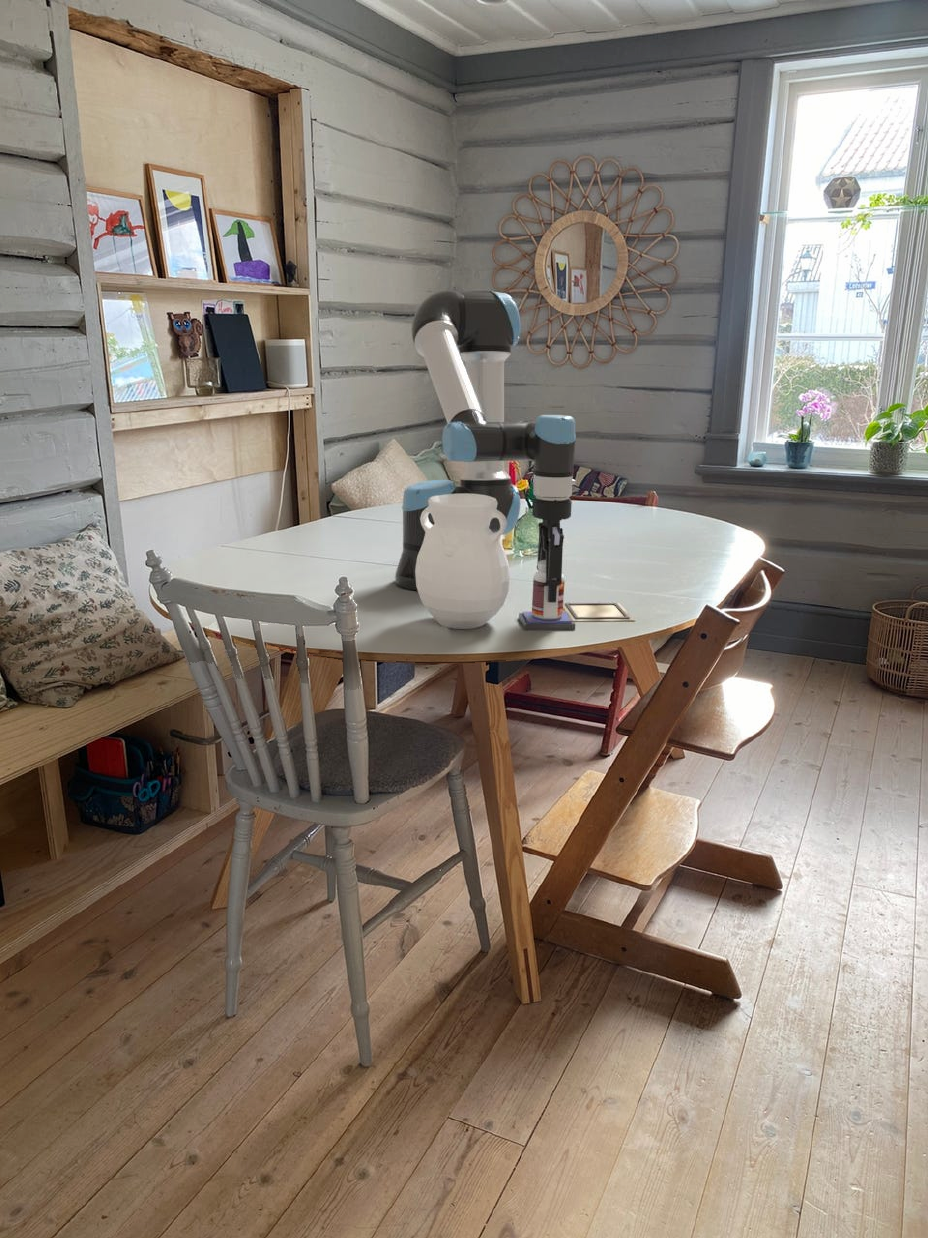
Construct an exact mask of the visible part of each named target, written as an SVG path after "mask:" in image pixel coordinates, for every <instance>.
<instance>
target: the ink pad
mask: <svg viewBox="0 0 928 1238" xmlns="http://www.w3.org/2000/svg"><path fill="white" fill-rule="evenodd" d="M518 619H519V621H520V623H521V626H522V627H523V630H525V631H530V630H531V631H536V630H537V631H541V630H542V631H545V630H548V631H549V630H550V631H551V630H555V631H557V630H559V631H560V630H561V631H562V630H566V631H568V630H573V631H574V630H576V622H575V621H573V620H572V619H571V617H570V616H569V614H568V613H566V612H565V611H564V610H563V614H562V617H560V618H559V619H553V620H546V619H539V618H536V617H534V616H533V615H532V611H522V612H518Z"/></svg>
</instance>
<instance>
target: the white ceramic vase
mask: <svg viewBox="0 0 928 1238" xmlns="http://www.w3.org/2000/svg"><path fill="white" fill-rule="evenodd" d="M428 503H429V506H428V507H427V508H426V509H425V510H424V511H423V512H422V514H421V517H420V521H421V525H422V527H423V529H424V530H425V537H424V541H423V544H422V546H421V549H420V551H419V554H418V556H417V561H416V568H415V575H416V587H417V590H416V591H417V592H418V596H419V598H420V602H421V603H422V604H423V606H425V608H426V610H427V612H428V613H429V614H430V615H431V616H432V617H433V618H434V620H435V621H437V623H439V625H440V626H442V627H444V628H449V629H452V630H455V629H456V630H470V629H478V628H480V627H482V626H484V625H485V624H487V623H488V622H489V621H490V620H491V619H493V618H494V616H495V615H497V613H498V612H499V611H500V610H501V609H502V607H503V606H504V604H505V601H506V598H507V596H508V594H509V591H510V580H511V575H510V566H509V560H508V557H507V554H506V551H505V548H504V546H503V545H502V543H501V541H500V538H501V536H502V534H503V532H504V531H505V528H506V525H507V521H506V517H505V516H504V515H503V514H502V513H501V512H500V511H498V510H497V503H498V502H497V500H496V499H495V498H493V497H490V496H487V495H480V494H469V493H463V494H446V495H438V496H432V497H431V498H429V500H428ZM429 513H431V515H432V517H433V520H434V523H435V524H434V525H432V524H431V523H430V522H429V519H428V514H429ZM492 518H497V519H498V520H499V522H500V530H499V531H497V532H494V533H493V532H492V531H491V530H490V528H489V526H490V522H491V520H492Z"/></svg>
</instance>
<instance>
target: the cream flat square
mask: <svg viewBox="0 0 928 1238" xmlns="http://www.w3.org/2000/svg"><path fill="white" fill-rule="evenodd" d="M563 611H565V612H566V613H568V614H569V616H570V617H571V619H572V620H573V621H574V622H635V621H636V619H635V618H634V617H633V616H632V615H631V614H630V613H629V612H628V611H627V609H626V608H625V607H624V606H623V605H622V604H621V603H620V602H577V603H576V602H565V603H564V602H563Z"/></svg>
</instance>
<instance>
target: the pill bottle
mask: <svg viewBox="0 0 928 1238" xmlns="http://www.w3.org/2000/svg"><path fill="white" fill-rule="evenodd" d="M537 561H538V560H537ZM538 569H539V570H537V572H535V573H534V575H533V579H532V580H533V581H532V598H531V599H532V602H531V612H532V615H533V616H534V617H536V618H539V619H546V620H553V619H559V618H560V617H562V614H563V611H564V609H563V603H564V599H565V597H564V596H565V582H566V581H565V575H564V574H563V573H562V584H561V585H559V594H558V615H557V618H544V617H543V607H544V586H542V583H546V560H541V561H538Z"/></svg>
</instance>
